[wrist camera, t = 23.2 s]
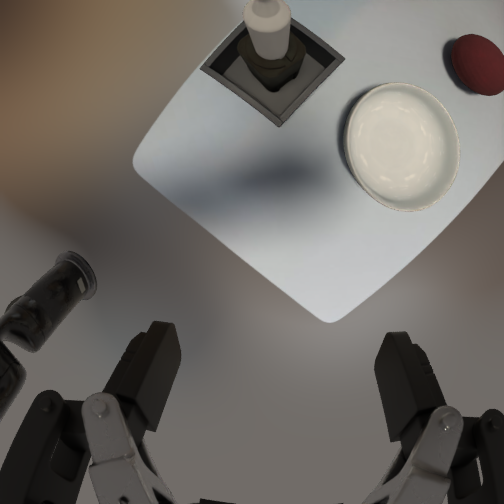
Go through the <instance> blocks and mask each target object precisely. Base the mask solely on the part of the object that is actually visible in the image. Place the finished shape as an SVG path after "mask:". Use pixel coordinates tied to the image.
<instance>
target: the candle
mask: <svg viewBox="0 0 504 504" xmlns="http://www.w3.org/2000/svg"><path fill="white" fill-rule="evenodd" d="M243 19H244V22H245V24H246V27H247V29H248V32H249V34H248V35H246V36H245V37H244V38H242V39H241V40H240V41H239V43H238V45H237V50H238V52H239V54H240V55H241V57H242V58H243V60H244V62H245V63H246V65H247V66H248V68H249V70H250V71H251V73H252V74H253V76H254V77H255V78H256V79H257V80H258V81H259V82H260V83H261V84H262V85H263V86H264V87H265V88H266V89H267V90H268V91H270V92H278V91H280V88H281V87H283V86H284V85H285V84H287V83H288V82H289V81H291V80H292V79H296V78H297V76H298V73H299V70H300V68H301V65H302V63H303V60H304V57H305V55H306V47H305V45H304V44H303V43H302V42H301V41H300V40H299V39H298V38H297V37H296V36H295V35H294V34H293V33H292V32H291V31H290V23H291V11H290V8H289V6H288V5H287V4H286V3H285V2H284V1H283V0H250V1H249V2H248V3H247V4H246V6H245V7H244V10H243Z"/></svg>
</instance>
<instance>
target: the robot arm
mask: <svg viewBox="0 0 504 504" xmlns="http://www.w3.org/2000/svg"><path fill="white" fill-rule="evenodd" d="M89 290H90V281H89V278H88V276H87V274H86V272H85V270H84V269H83V268H82V267H81V266H80V265H79V264H78V263H77V262H76V261H74V260H72V259H69V258H65V259H63V260H61V261H60V262H59V263H58V264H56V265H55V266H54V267H53V268H52V269H50V270H49V271H48V272H47V273H46V274H45V275H43V276H42V277H41V278H40V279H39V280H38V281H37V282H36V283H34V284H33V286H32V287H31V288H30V289H29V290H28V291H27V292H26V293H25V294H24V295H22V296H20V297H18V298H16V299H14V300H13V301H12V302H11V303H10V304H9V305H8V307H7V309H6V311H5V313H4V315H3V316H2V317H1V318H0V422H1V420H2V418H3V417H4V415H5V414H6V412H7V410H8V409H9V407H10V406H11V404H12V403H13V401H14V399H15V398H16V397H17V395H18V393H19V392H20V390H21V389H22V387H23V385H24V383H25V380H26V370H25V368H24V367H23V366H22V364H21V363H20V362H19V361H18V360H17V358H15V356H14V355H13V354H12V353H11V351H10V350H9V349H8V348H7V347H6V346H5V344H4V343H3V341H8V342H12V343H14V344H16V345H18V346H19V347H21V348H23V349H25V350H26V351H28V352H32V353H35V352H37V351H38V350H40V348H41V347H42V345H44V343H45V342H46V341H47V340H48V338H49V337H50V336H51V335H52V333H53V332H54V331H55V329H56V328H57V327H58V326H59V325H60V324H61V322H62V321H63V320H64V319H65V318H66V316H67V315H68V314H69V313H70V312H71V311H72V310H73V308H74V307H75V306H76V305H77V304H78V303H79V301H81V299H82V298H83V297H84V296H86V295H87V293H88V292H89ZM15 302H16V303H15ZM14 303H15V304H14ZM13 304H14V305H13ZM12 305H13V306H12ZM9 308H10V309H9ZM180 362H181V349H180V345H179V341H178V337H177V332H176V328H175V325H174V324H173V323H168V322H161V321H154V322H153V323H152V324H151V326H150V328H149V330H148V331H147V333H145V332H141V333H139V334H138V335H137V336H136V337H134V338H133V339H132V340H131V342H130V343H129V345H128V347H127V348H126V352H124V354H123V356H122V357H121V360H120V361H119V363H118V364H117V366H116V368H115V370H114V372H113V374H112V375H111V377H110V379H109V381H108V382H107V384H106V386H105V388H104V390H103V391H102V392H99V393H95V394H92V395H91V396H89V397H88V398H87V399H86V400H85V401H74V400H64V399H63V398H62V397H61V395H60V394H59V393H58V392H56V391H53V390H46V391H43V392H41V393H40V394H38V395H37V396H36V398H35V399H34V401H33V403H32V405H31V407H30V409H29V410H28V412H27V414H26V416H25V418H24V420H23V422H22V424H21V426H20V428H19V430H18V432H17V434H16V436H15V438H14V440H13V442H12V445H11V447H10V449H9V451H8V453H7V456H6V459H5V460H4V463H3V465H2V468H1V470H0V504H76V500H77V497H78V494H79V491H80V487H81V484H82V481H83V478H84V475H85V472H86V469H87V466H88V463H89V460H90V458H91V456H92V459H93V464H92V465H90V466H89V474H90V478H91V481H92V484H93V487H94V490H95V493H96V496H97V498H98V501H99V504H177V502H176V500H175V499H174V497H173V495H172V493H171V492H170V490H169V488H168V487H167V485H166V484H165V483H164V481H163V480H162V478H161V476H160V474H159V472H158V470H157V468H156V466H155V464H154V462H153V459H152V457H151V455H150V452H149V450H148V448H147V445H146V443H145V441H144V438H143V436H144V433H145V431H146V430H149V431H153V432H156V429H157V427H158V424H159V421H160V418H161V415H162V412H163V410H164V407H165V404H166V401H167V398H168V396H169V393H170V390H171V387H172V385H173V382H174V379H175V377H176V374H177V371H178V368H179V366H180ZM374 371H375V376H376V380H377V384H378V388H379V392H380V396H381V400H382V404H383V409H384V413H385V417H386V423H387V427H388V432H389V437H390V442H395V441H401V447H400V449H399V450H398V452H397V454H396V456H395V457H394V459H393V461H392V463H391V464H390V466H389V468H388V469H387V471H386V473H385V474H384V476H383V478H382V479H381V481H380V482H379V484H378V485H377V487H376V488H375V489H374V490H373V492H371V493H370V495H369V496H368V497H367V498H366V499H365V500H364V501H363V503H362V504H442V503H443V500H444V498H445V496H446V494H447V497H448V504H504V415H503V414H502V413H501V412H500V411H498V410H496V409H489V410H487V411H486V412H485V413H484V414H483V415H482V416H481V417H480V418H479V417H462V416H461V414H460V412H459V411H458V410H457V409H455V408H453V407H451V406H447V404H446V402H445V399H444V396H443V394H442V391H441V389H440V386H439V384H438V381H437V379H436V376H435V374H433V369H432V367H431V365H430V362H429V360H428V358H427V356H426V353H425V352H424V351H423V350H422V349H421V348H420V347H419V346H418V345H417V344H412V342H411V340H410V337H409V335H408V334H407V332H405V331H404V332H388V333H387V334H386V335H385V338H384V340H383V343H382V345H381V347H380V350H379V352H378V355H377V357H376V360H375V366H374ZM58 440H59V441H58ZM57 442H58V443H57ZM55 447H56V448H55ZM53 452H54V453H53ZM52 454H53V455H52ZM51 457H52V458H51ZM478 457H479V460H480V465H481V470H482V475H483V484H482V486H481V482H480V477H479V471H478V466H477V461H476V458H478ZM192 504H234V503H226V502H219V501H212V500H206V499H200V503H192ZM341 504H343V503H341Z"/></svg>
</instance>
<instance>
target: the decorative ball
mask: <svg viewBox="0 0 504 504" xmlns="http://www.w3.org/2000/svg"><path fill="white" fill-rule="evenodd" d="M451 58H452V63H453V67H454V69H455V72H456V73H457V75H458V77H459V78H460V80H461V81H462V82H463V83H464V84H465V85H466V86H467V87H468V88H470V89H471V90H473V91H474V92H476V93H479V94H481V95H486V96H492V95H497V94H499V93H501V92H502V91H503V90H504V55H503V54H502V52H501V51H500V49H499V48H498V47H497V46H496V45H495V44H494V43H493V42H491V41H490V40H488V39H486V38H484V37H482V36H479V35H475V34H468V35H464V36H462V37H460V38H459V39H457V40H456V42H455V43H454V45H453V48H452V52H451Z"/></svg>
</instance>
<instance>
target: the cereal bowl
mask: <svg viewBox="0 0 504 504" xmlns="http://www.w3.org/2000/svg"><path fill="white" fill-rule="evenodd" d="M343 140H344V141H343V142H344V151H345V156H346V159H347V163H348V166H349V168H350V170H351V172H352V174H353V176H354V177H355V179H356V180H357V182H358V183H359V185H360V186H361V187H362V188H363V189H364V190H365V191H366V193H368V194H369V195H370V196H371V197H372V198H374V199H375V200H376V201H377V202H379V203H381V204H382V205H384V206H386V207H389V208H391V209H394V210H398V211H405V212H412V211H419V210H422V209H425V208H428V207H430V206H432V205H433V204H435V203H436V202H438V201H439V200H440V199H441V198H442V197H443V196H444V195H445V194H446V193H447V191H448V190H449V189H450V187H451V185H452V183H453V182H454V180H455V177H456V174H457V171H458V167H459V161H460V144H459V137H458V133H457V130H456V127H455V124H454V122H453V120H452V118H451V116H450V115H449V113H448V111H447V110H446V109H445V107H444V106H443V105H442V104H441V103H440V102H439V101H438V100H437V99H436V98H435V97H434V96H433V95H431V94H430V93H429V92H427V91H425V90H423V89H421V88H419V87H417V86H414V85H411V84H407V83H386V84H383V85H379V86H377V87H375V88H373V89H371V90H370V91H368V92H367V93H365V94H364V95H363V96H361V98H360V99H358V101H357V102H356V103H355V104H354V106H353V108H352V109H351V111H350V113H349V115H348V118H347V120H346V123H345V128H344V137H343Z"/></svg>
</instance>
